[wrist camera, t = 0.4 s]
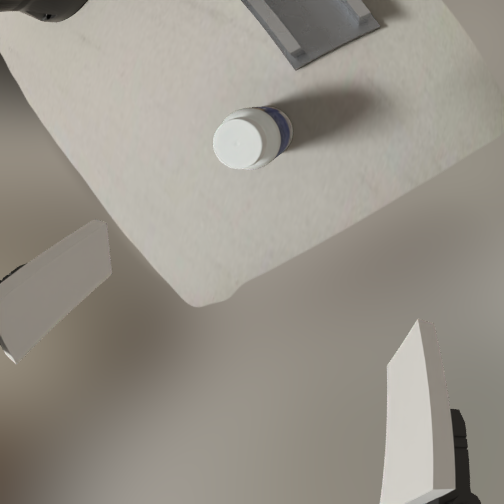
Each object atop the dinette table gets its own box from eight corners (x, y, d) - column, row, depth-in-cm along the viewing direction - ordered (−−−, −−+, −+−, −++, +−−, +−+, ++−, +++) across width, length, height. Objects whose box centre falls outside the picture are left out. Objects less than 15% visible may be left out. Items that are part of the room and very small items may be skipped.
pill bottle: (278, 97, 28) (250, 96, 20) (302, 142, 30) (284, 160, 22) (234, 120, 31) (192, 130, 22) (258, 163, 32) (224, 188, 24)
